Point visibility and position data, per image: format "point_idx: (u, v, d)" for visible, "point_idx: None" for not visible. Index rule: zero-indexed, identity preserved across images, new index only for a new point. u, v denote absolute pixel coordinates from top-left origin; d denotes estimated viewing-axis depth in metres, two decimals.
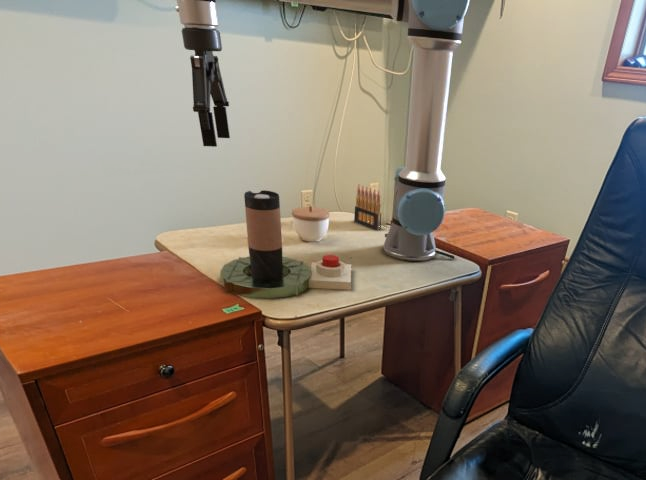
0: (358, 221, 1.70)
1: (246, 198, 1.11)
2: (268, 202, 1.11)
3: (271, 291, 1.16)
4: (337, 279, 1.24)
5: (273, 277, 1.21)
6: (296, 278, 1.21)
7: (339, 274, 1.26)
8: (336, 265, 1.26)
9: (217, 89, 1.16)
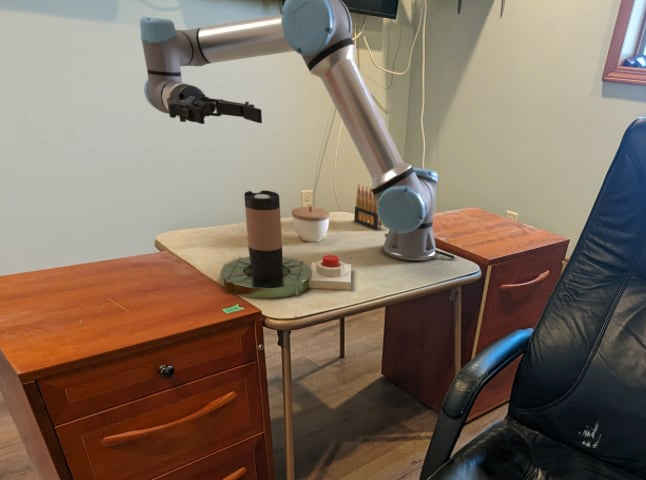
0: (358, 221, 1.70)
1: (246, 198, 1.11)
2: (268, 202, 1.11)
3: (271, 291, 1.16)
4: (337, 279, 1.24)
5: (273, 277, 1.21)
6: (296, 278, 1.21)
7: (339, 274, 1.26)
8: (336, 265, 1.26)
9: (227, 106, 1.18)
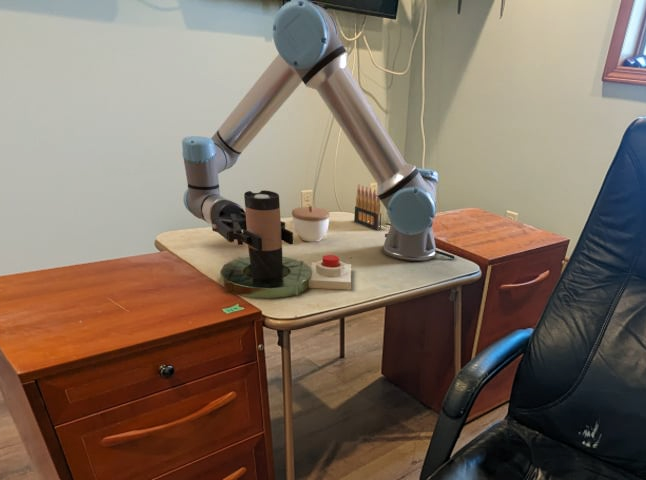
0: (358, 221, 1.70)
1: (246, 198, 1.11)
2: (268, 202, 1.11)
3: (271, 291, 1.16)
4: (337, 279, 1.24)
5: (273, 277, 1.21)
6: (296, 278, 1.21)
7: (339, 274, 1.26)
8: (336, 265, 1.26)
9: None
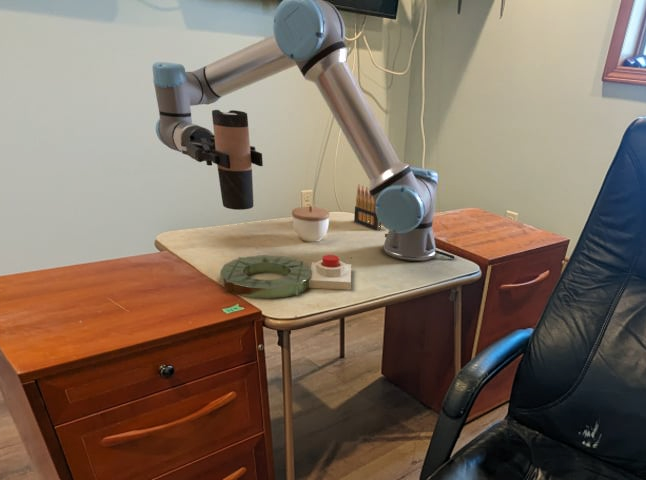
0: (358, 221, 1.70)
1: (213, 114, 1.12)
2: (235, 118, 1.11)
3: (271, 291, 1.16)
4: (337, 279, 1.24)
5: (243, 200, 1.21)
6: (296, 278, 1.21)
7: (339, 274, 1.26)
8: (336, 265, 1.26)
9: None
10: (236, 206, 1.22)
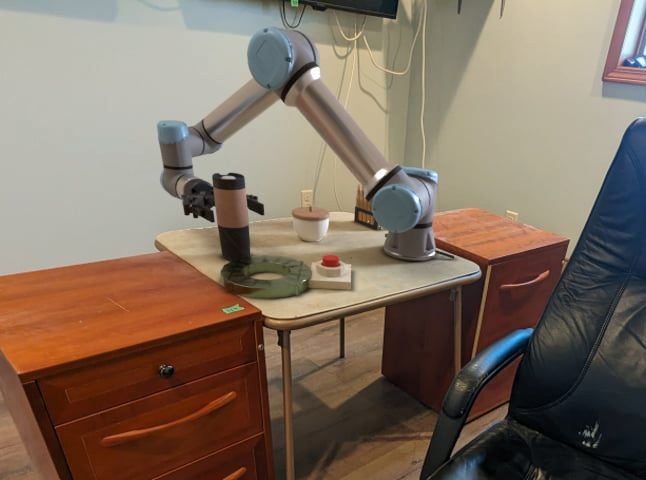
0: (358, 221, 1.70)
1: (213, 179, 1.22)
2: (233, 182, 1.22)
3: (271, 291, 1.16)
4: (337, 279, 1.24)
5: (241, 253, 1.32)
6: (296, 278, 1.21)
7: (339, 274, 1.26)
8: (336, 265, 1.26)
9: None
10: (234, 258, 1.32)
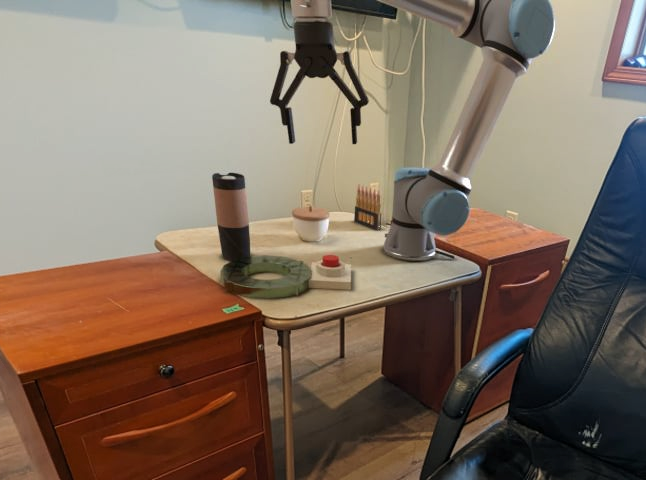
0: (358, 221, 1.70)
1: (213, 179, 1.22)
2: (233, 182, 1.22)
3: (271, 291, 1.16)
4: (337, 279, 1.24)
5: (241, 253, 1.32)
6: (296, 278, 1.21)
7: (339, 274, 1.26)
8: (336, 265, 1.26)
9: (297, 87, 1.06)
10: (234, 258, 1.32)
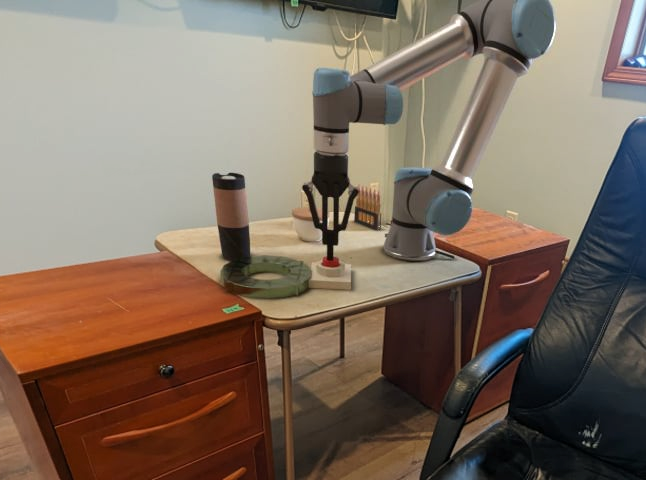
0: (358, 221, 1.70)
1: (213, 179, 1.22)
2: (233, 182, 1.22)
3: (271, 291, 1.16)
4: (337, 279, 1.24)
5: (241, 253, 1.32)
6: (296, 278, 1.21)
7: (339, 274, 1.26)
8: (336, 266, 1.26)
9: None
10: (234, 258, 1.32)
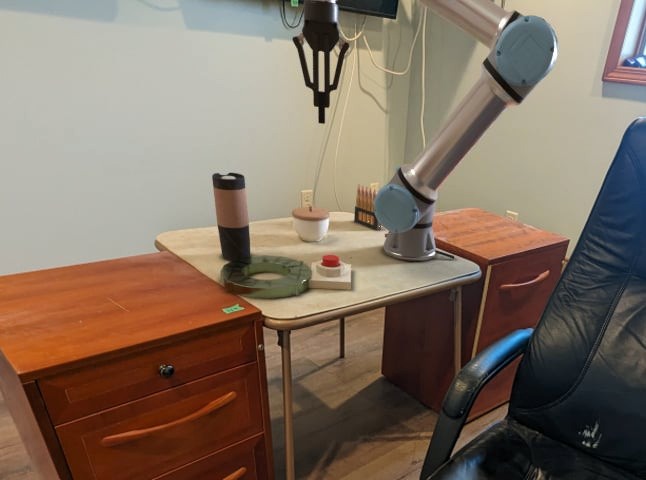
0: (358, 221, 1.70)
1: (213, 179, 1.22)
2: (233, 182, 1.22)
3: (271, 291, 1.16)
4: (337, 279, 1.24)
5: (241, 253, 1.32)
6: (296, 278, 1.21)
7: (339, 274, 1.26)
8: (336, 265, 1.26)
9: (318, 66, 1.19)
10: (234, 258, 1.32)
